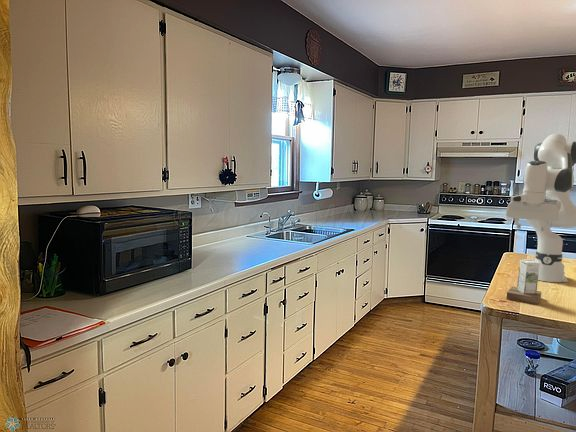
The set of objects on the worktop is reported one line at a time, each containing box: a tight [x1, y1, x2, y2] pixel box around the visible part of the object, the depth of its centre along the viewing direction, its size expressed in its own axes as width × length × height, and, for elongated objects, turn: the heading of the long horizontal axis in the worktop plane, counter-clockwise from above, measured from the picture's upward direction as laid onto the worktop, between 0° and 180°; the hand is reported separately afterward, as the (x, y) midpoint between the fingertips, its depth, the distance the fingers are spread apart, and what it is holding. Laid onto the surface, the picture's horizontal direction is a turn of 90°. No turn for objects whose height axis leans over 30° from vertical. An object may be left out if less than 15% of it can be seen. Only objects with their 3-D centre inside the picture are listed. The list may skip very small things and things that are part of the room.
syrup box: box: [516, 259, 540, 294], centre depth 190 cm, size 6×6×14 cm
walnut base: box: [506, 286, 542, 306], centre depth 191 cm, size 12×12×3 cm
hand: (530, 229), depth 188 cm, fingers open, 8 cm apart
